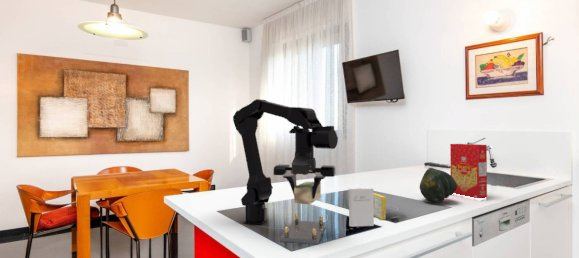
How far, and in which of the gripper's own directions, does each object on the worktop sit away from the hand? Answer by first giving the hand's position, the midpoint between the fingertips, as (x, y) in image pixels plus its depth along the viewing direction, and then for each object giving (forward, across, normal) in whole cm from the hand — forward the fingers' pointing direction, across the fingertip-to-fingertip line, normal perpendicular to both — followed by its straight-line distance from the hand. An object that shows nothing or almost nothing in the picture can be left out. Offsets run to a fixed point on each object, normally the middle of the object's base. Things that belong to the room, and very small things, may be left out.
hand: (304, 198), depth 101 cm
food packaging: (+11, +65, +68) cm, 95 cm away
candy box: (+11, +21, +28) cm, 37 cm away
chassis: (+11, 0, 0) cm, 11 cm away
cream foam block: (+1, 0, +3) cm, 3 cm away
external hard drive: (+11, +17, +12) cm, 24 cm away
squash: (+11, +49, +54) cm, 74 cm away
